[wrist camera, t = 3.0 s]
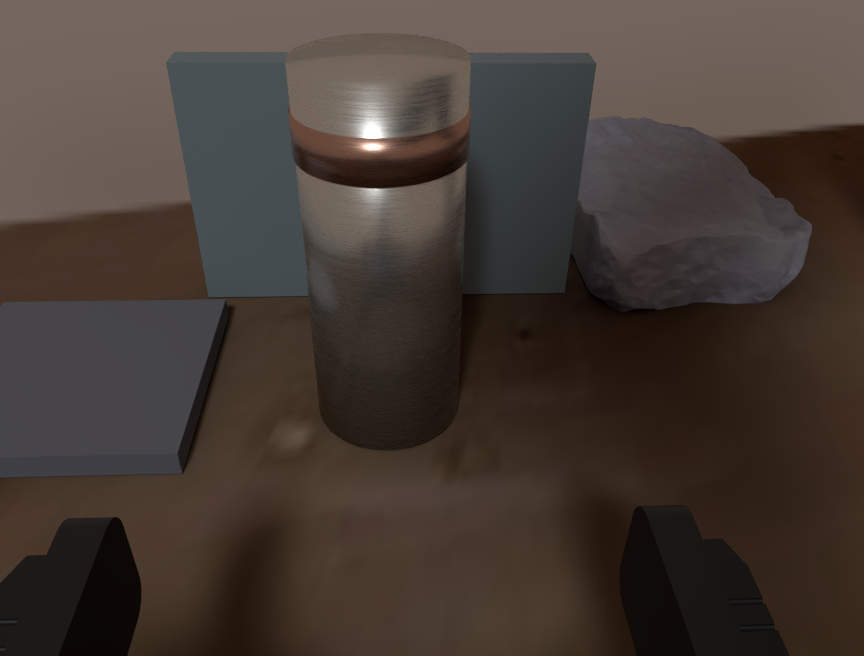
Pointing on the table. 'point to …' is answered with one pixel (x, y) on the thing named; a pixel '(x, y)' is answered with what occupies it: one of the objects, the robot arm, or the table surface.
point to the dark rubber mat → (104, 384)
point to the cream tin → (383, 228)
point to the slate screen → (485, 181)
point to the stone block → (678, 221)
